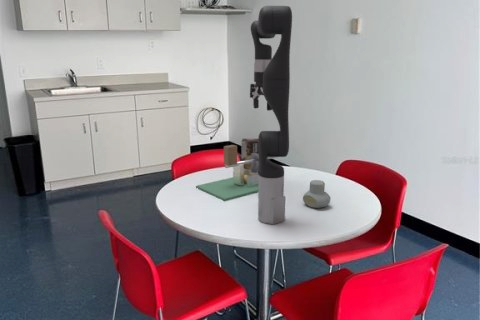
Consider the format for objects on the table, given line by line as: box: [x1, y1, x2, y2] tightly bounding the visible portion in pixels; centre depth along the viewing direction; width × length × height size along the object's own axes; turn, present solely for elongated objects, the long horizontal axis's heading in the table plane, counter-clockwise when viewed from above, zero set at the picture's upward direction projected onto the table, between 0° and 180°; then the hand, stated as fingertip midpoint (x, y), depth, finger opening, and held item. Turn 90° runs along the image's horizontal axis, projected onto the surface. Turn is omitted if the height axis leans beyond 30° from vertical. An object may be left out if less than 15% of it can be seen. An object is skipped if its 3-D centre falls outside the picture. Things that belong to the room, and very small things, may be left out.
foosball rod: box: [223, 144, 277, 186], centre depth 198 cm, size 5×31×18 cm, turn 128°
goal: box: [244, 169, 259, 187], centre depth 197 cm, size 11×6×5 cm, turn 38°
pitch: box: [195, 176, 258, 202], centre depth 193 cm, size 22×24×1 cm
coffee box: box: [240, 138, 259, 171], centre depth 220 cm, size 9×6×16 cm
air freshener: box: [302, 179, 331, 209], centre depth 171 cm, size 11×8×10 cm
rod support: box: [251, 153, 259, 174], centre depth 200 cm, size 7×2×14 cm, turn 38°
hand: (262, 109), depth 183 cm, fingers open, 8 cm apart
